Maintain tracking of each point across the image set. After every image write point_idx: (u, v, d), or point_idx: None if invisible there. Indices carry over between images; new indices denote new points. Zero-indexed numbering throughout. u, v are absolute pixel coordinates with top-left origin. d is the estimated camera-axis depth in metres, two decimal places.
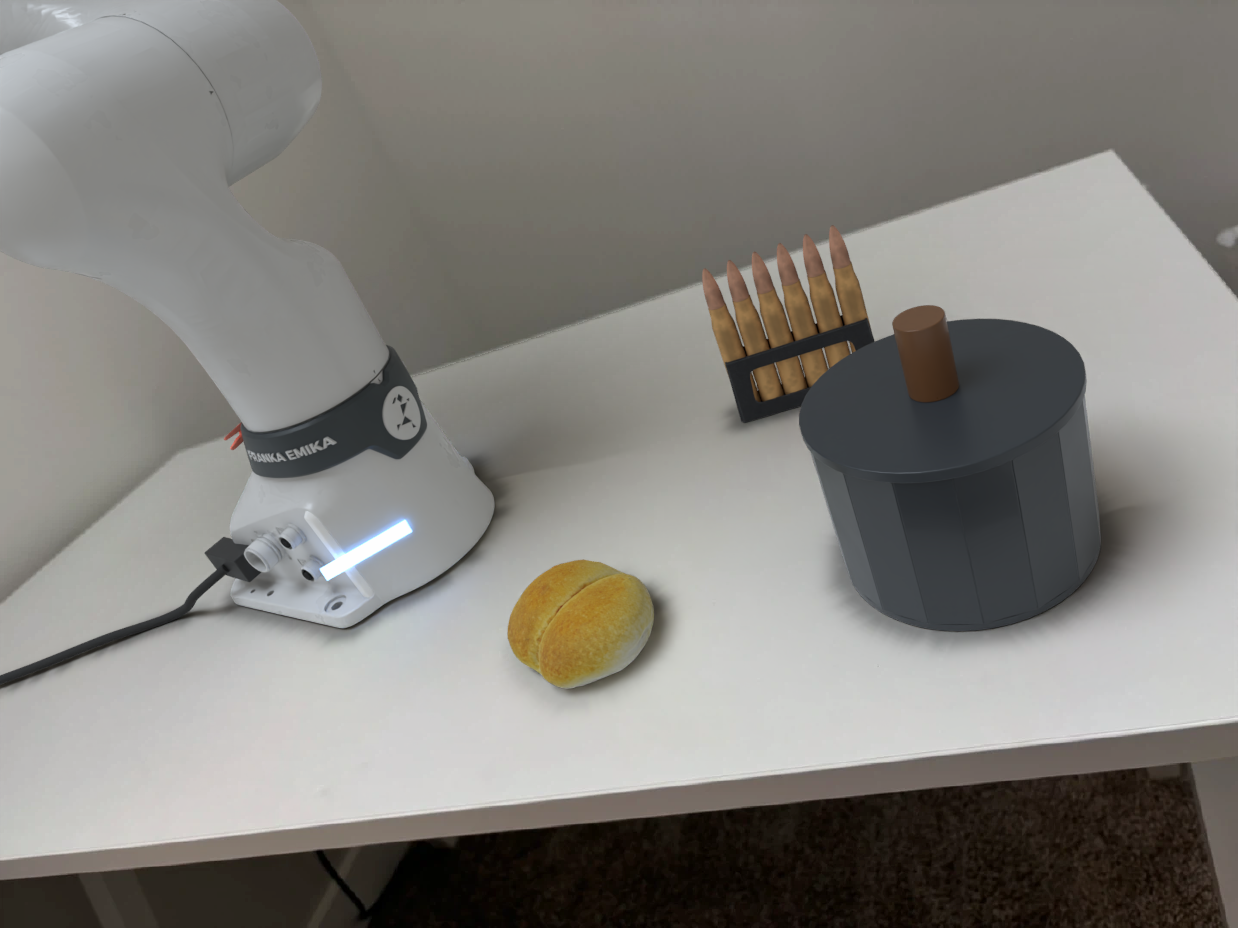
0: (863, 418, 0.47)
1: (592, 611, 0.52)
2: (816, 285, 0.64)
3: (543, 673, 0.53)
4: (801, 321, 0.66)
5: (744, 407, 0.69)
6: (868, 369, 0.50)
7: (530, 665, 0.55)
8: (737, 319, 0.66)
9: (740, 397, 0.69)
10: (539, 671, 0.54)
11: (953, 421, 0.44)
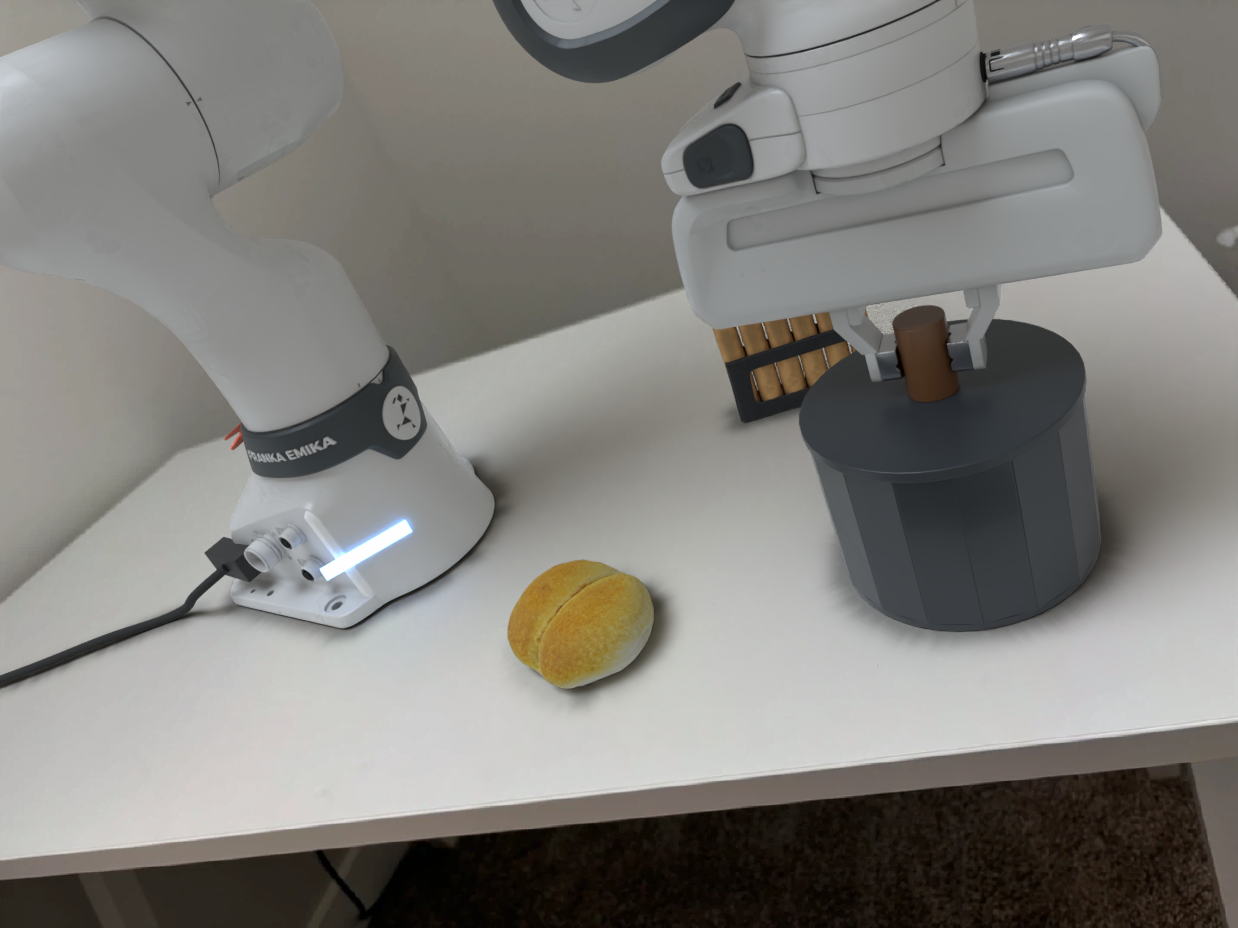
0: (863, 418, 0.47)
1: (592, 611, 0.52)
2: None
3: (543, 673, 0.53)
4: (801, 321, 0.66)
5: (744, 407, 0.69)
6: None
7: (530, 665, 0.55)
8: None
9: (740, 397, 0.69)
10: (539, 671, 0.54)
11: (953, 421, 0.44)
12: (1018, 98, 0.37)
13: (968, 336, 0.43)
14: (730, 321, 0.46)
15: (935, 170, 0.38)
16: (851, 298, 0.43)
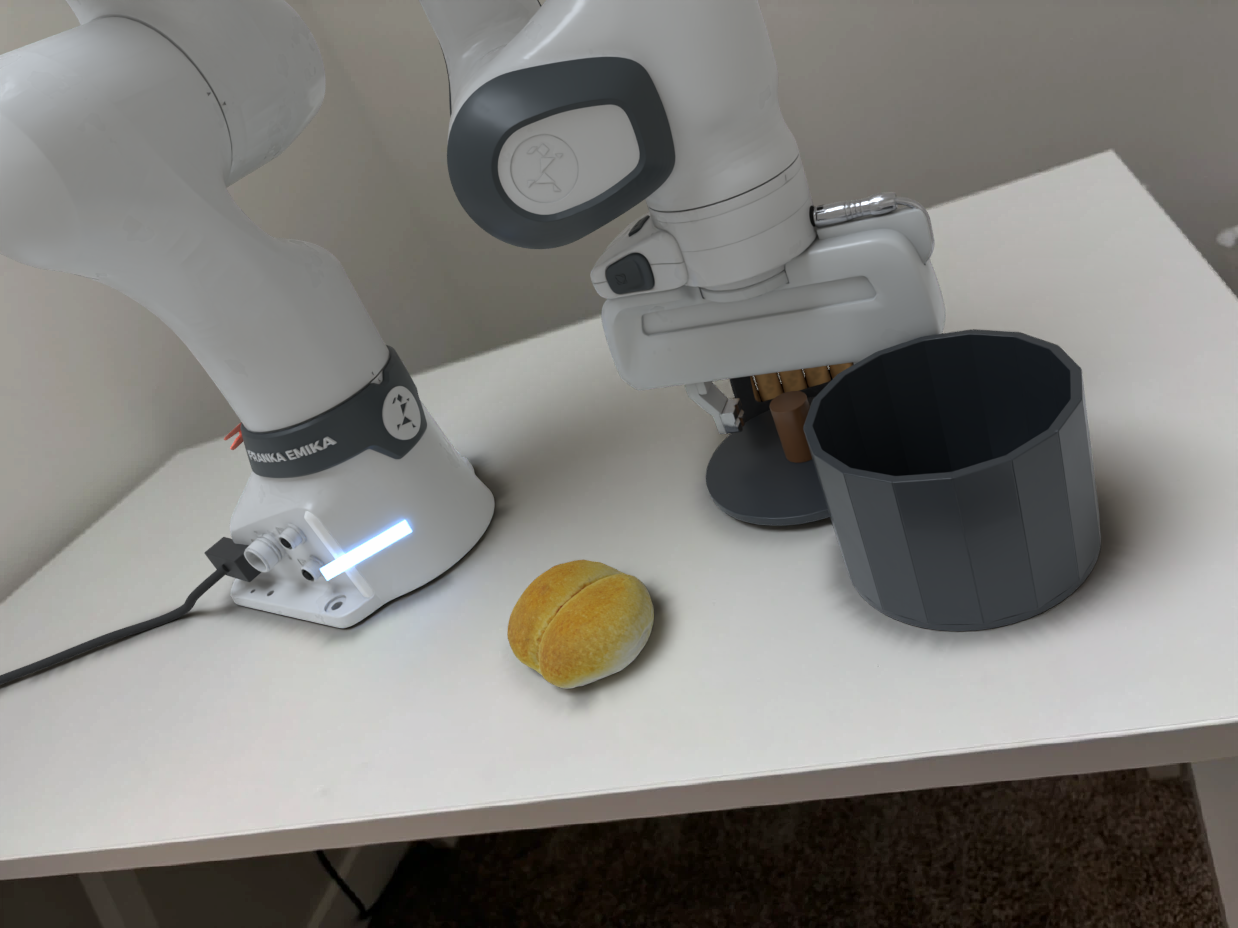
0: (751, 474, 0.62)
1: (592, 611, 0.52)
2: None
3: (543, 673, 0.53)
4: None
5: (744, 407, 0.69)
6: (760, 434, 0.66)
7: (530, 665, 0.55)
8: None
9: (740, 397, 0.69)
10: (539, 671, 0.54)
11: (812, 478, 0.59)
12: (836, 239, 0.52)
13: None
14: (648, 385, 0.61)
15: (783, 286, 0.54)
16: (733, 372, 0.58)
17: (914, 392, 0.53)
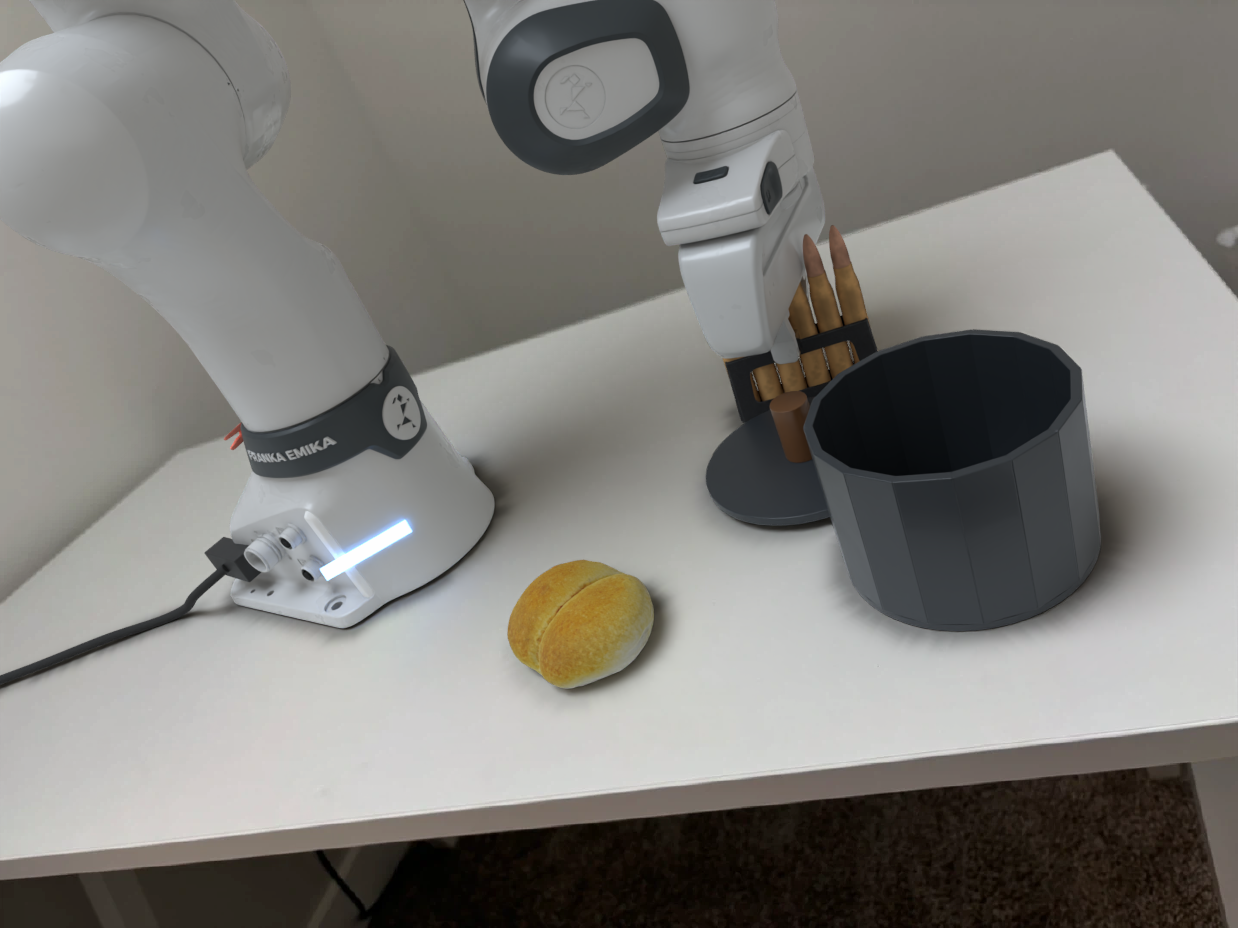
0: (751, 474, 0.62)
1: (592, 611, 0.52)
2: (816, 285, 0.64)
3: (543, 673, 0.53)
4: (801, 321, 0.66)
5: (744, 407, 0.69)
6: (760, 434, 0.66)
7: (530, 665, 0.55)
8: None
9: (740, 397, 0.69)
10: (539, 671, 0.54)
11: (812, 478, 0.59)
12: None
13: None
14: (775, 336, 0.58)
15: None
16: (794, 288, 0.62)
17: (914, 392, 0.53)
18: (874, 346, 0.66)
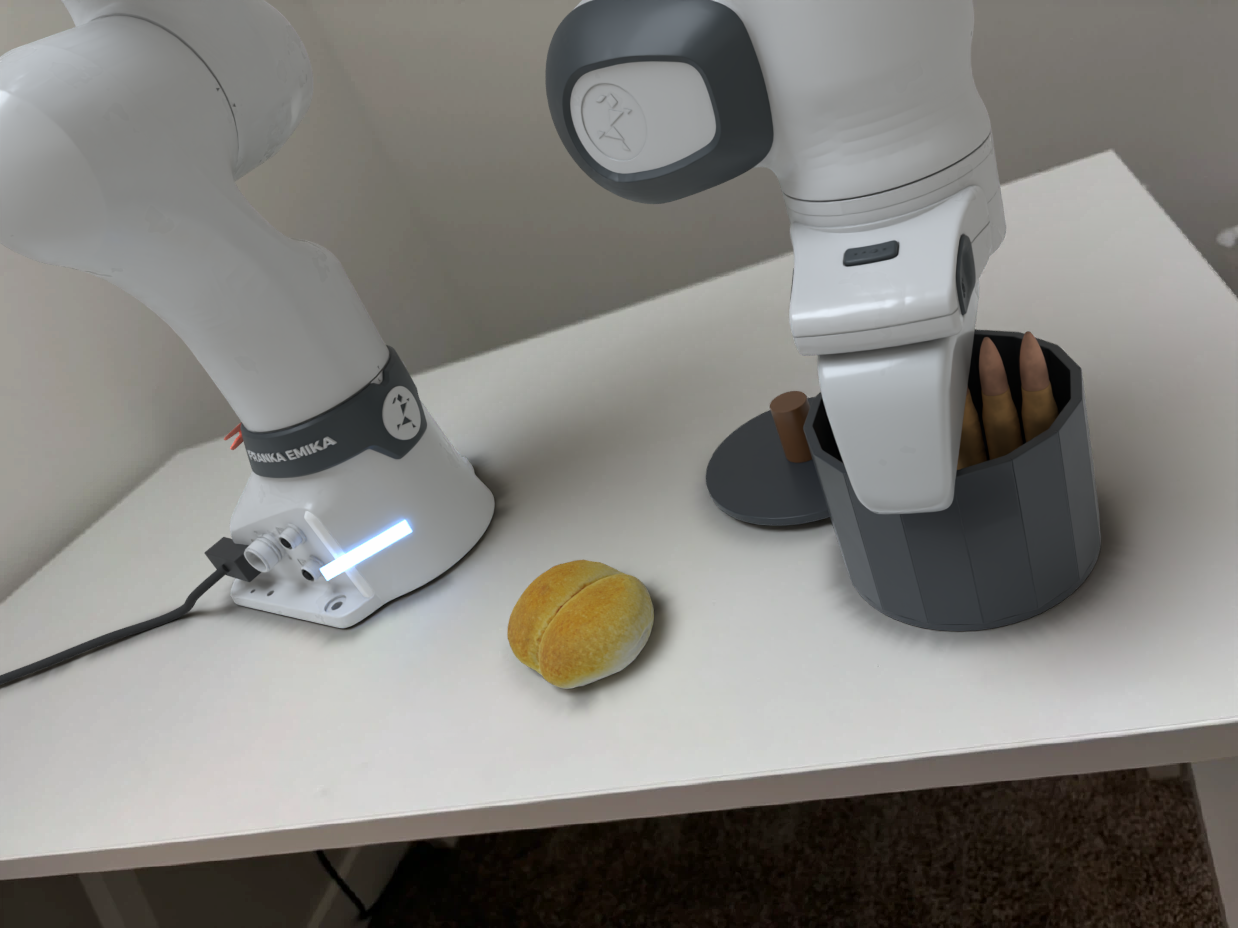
0: (751, 474, 0.62)
1: (592, 611, 0.52)
2: (991, 407, 0.45)
3: (543, 673, 0.53)
4: (963, 449, 0.47)
5: None
6: (760, 434, 0.66)
7: (530, 665, 0.55)
8: None
9: None
10: (539, 671, 0.54)
11: (812, 478, 0.59)
12: None
13: None
14: (954, 484, 0.40)
15: None
16: (964, 402, 0.44)
17: None
18: None
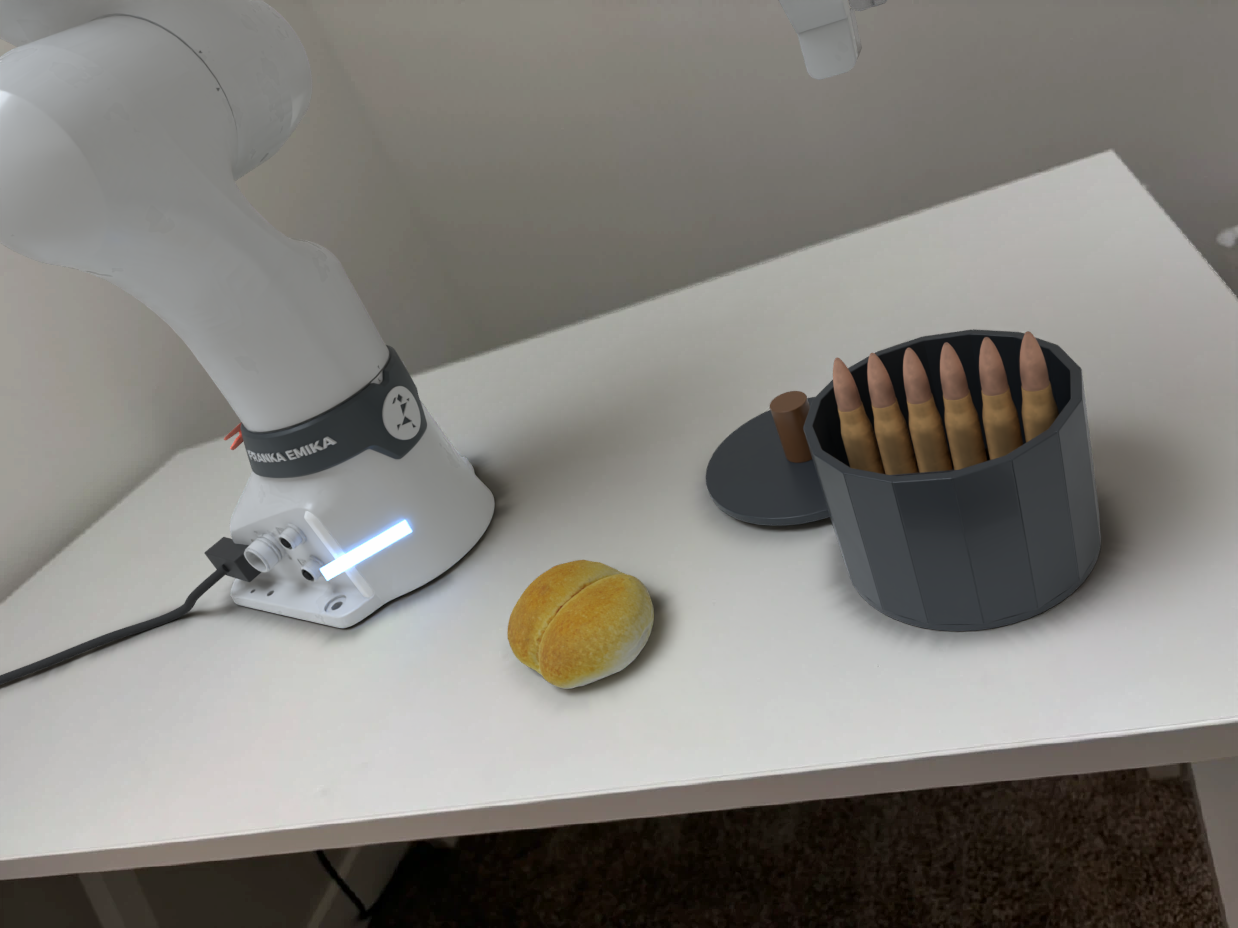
0: (751, 474, 0.62)
1: (592, 611, 0.52)
2: (991, 407, 0.45)
3: (543, 673, 0.53)
4: (963, 449, 0.47)
5: None
6: (760, 434, 0.66)
7: (530, 665, 0.55)
8: (875, 428, 0.49)
9: None
10: (539, 671, 0.54)
11: (812, 478, 0.59)
12: None
13: None
14: None
15: None
16: None
17: None
18: None
